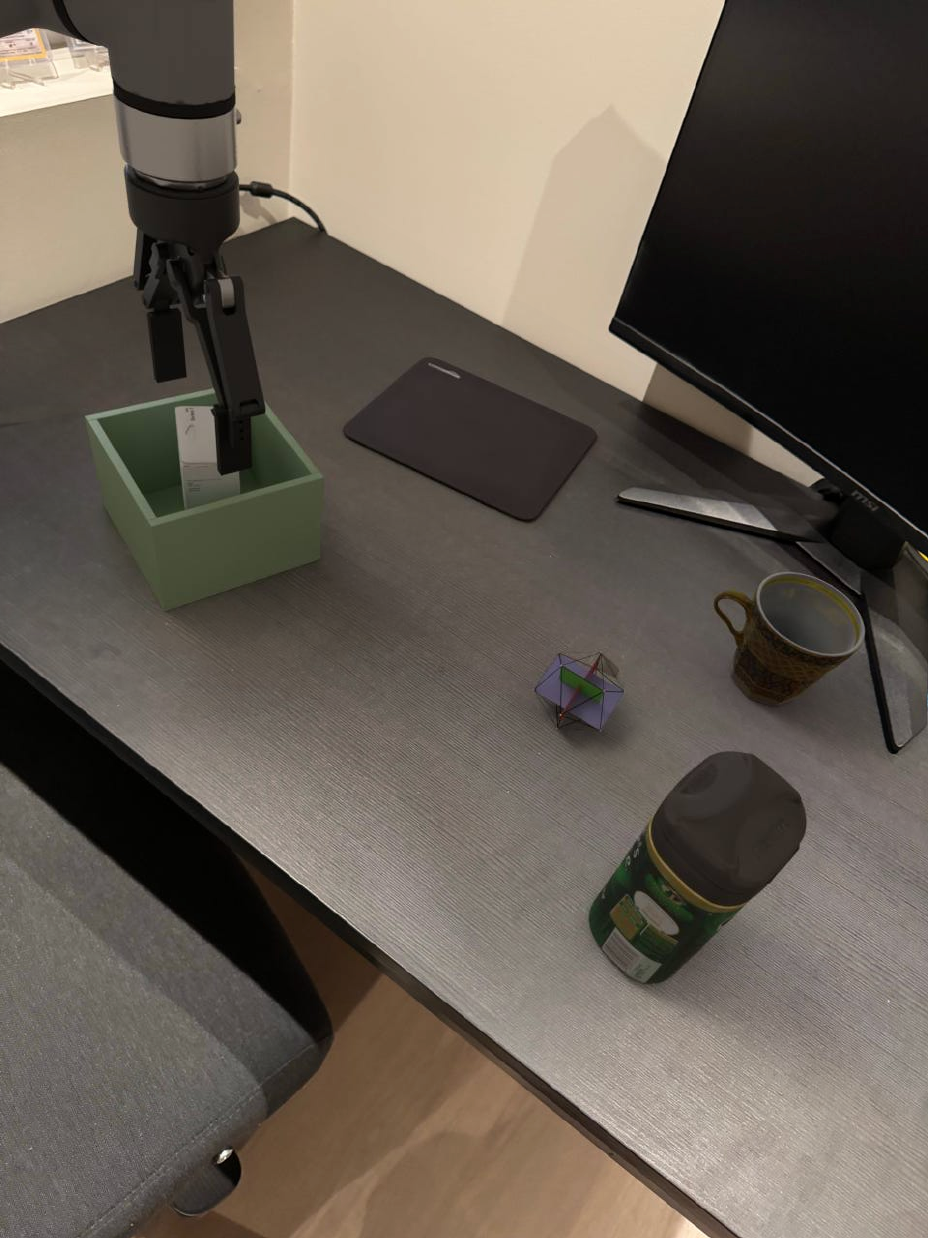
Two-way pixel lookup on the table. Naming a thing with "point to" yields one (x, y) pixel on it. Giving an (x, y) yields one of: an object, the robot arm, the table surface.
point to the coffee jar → (697, 864)
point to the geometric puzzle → (581, 689)
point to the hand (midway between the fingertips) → (201, 421)
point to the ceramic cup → (791, 635)
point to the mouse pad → (473, 436)
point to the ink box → (201, 459)
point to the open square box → (212, 533)
